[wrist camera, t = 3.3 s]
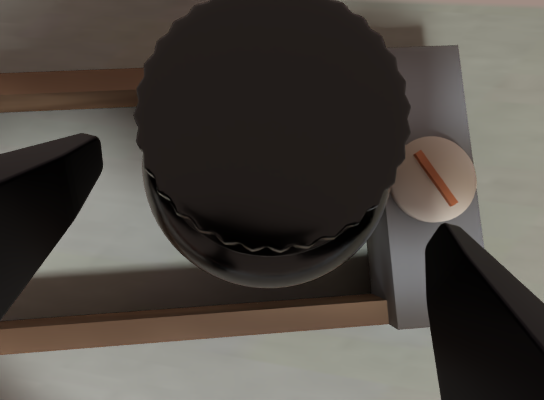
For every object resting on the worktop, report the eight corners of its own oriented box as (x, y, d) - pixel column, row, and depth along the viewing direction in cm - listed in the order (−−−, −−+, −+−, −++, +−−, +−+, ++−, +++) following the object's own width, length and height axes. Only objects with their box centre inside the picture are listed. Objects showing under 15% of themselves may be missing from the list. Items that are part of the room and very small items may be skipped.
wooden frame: (453, 308, 18) (503, 325, 14) (-223, 360, 16) (-360, 395, 12) (426, 75, 19) (465, 37, 15) (-201, 101, 17) (-320, 64, 14)
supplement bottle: (330, 132, 18) (469, -65, 7) (332, 268, 18) (493, 323, 6) (195, 130, 18) (83, -83, 6) (191, 267, 17) (53, 326, 5)
